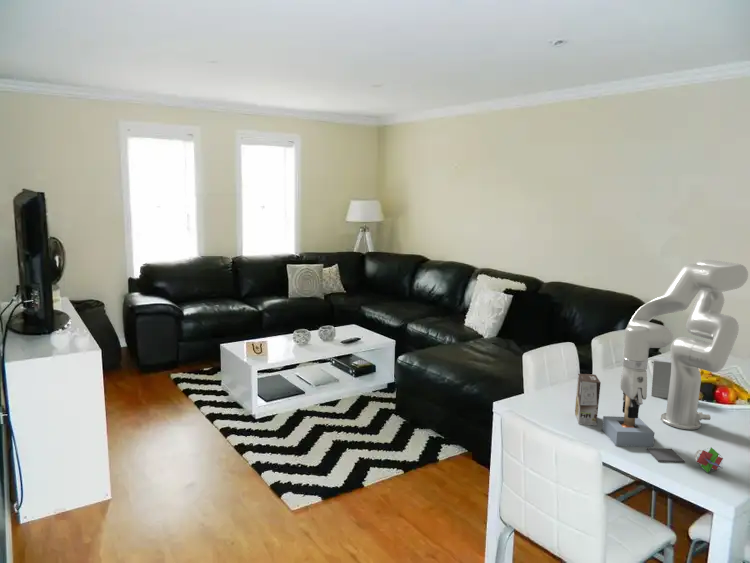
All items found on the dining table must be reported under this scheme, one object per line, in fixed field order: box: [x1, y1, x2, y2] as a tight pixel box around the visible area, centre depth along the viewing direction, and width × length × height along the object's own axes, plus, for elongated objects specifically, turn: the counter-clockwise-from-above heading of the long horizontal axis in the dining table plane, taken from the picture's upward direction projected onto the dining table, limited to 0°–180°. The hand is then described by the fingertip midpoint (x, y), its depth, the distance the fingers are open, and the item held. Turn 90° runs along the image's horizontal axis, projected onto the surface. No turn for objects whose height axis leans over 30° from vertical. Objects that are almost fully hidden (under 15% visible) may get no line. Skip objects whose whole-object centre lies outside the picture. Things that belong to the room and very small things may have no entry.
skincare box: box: [650, 355, 671, 400], centre depth 221 cm, size 8×7×16 cm
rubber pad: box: [645, 447, 686, 464], centre depth 172 cm, size 8×8×1 cm
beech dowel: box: [623, 395, 637, 426], centre depth 183 cm, size 3×3×11 cm
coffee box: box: [574, 373, 601, 427], centre depth 197 cm, size 9×6×16 cm
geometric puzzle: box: [694, 447, 724, 474], centre depth 164 cm, size 7×7×8 cm
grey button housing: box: [601, 415, 655, 448], centre depth 184 cm, size 12×12×5 cm
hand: (630, 414), depth 183 cm, fingers closed on beech dowel, 3 cm apart
